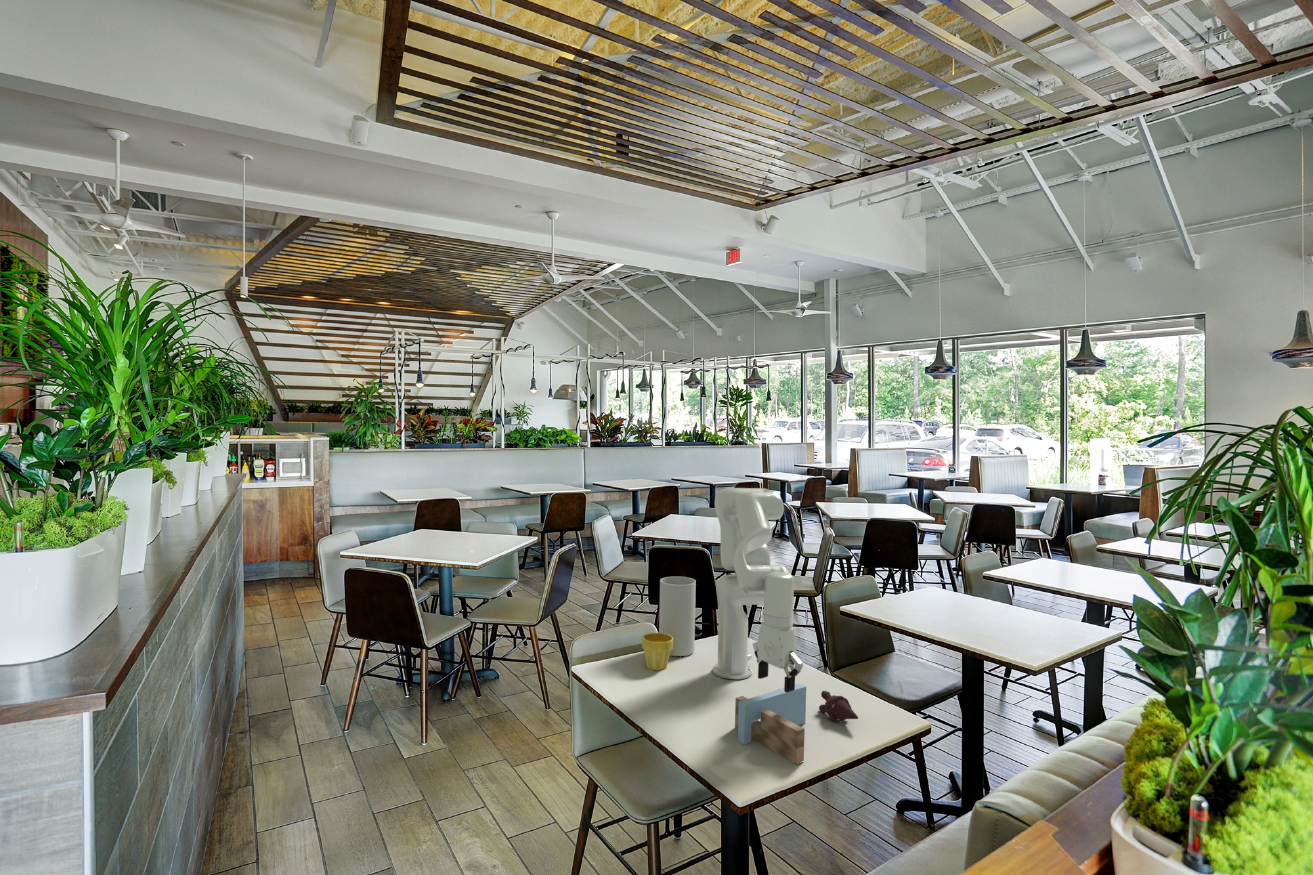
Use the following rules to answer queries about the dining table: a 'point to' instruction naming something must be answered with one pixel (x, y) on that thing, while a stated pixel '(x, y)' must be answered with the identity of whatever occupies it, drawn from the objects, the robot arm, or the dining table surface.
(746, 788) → the dining table surface
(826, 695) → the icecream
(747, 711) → the slotted plate
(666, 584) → the cylinder vase
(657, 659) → the plant pot
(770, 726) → the walnut board
